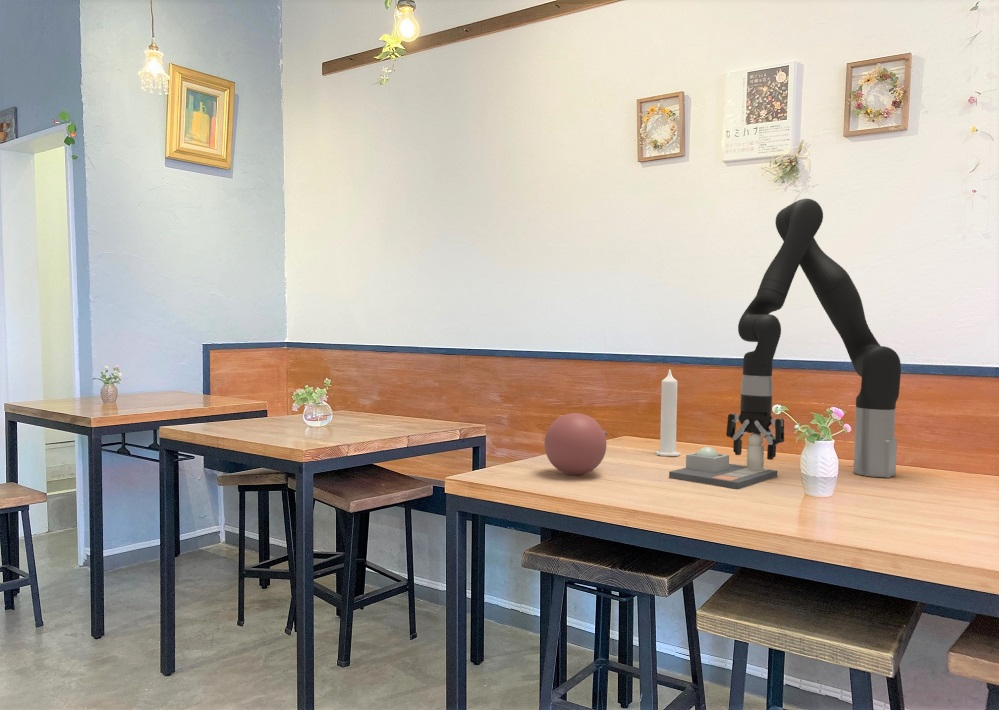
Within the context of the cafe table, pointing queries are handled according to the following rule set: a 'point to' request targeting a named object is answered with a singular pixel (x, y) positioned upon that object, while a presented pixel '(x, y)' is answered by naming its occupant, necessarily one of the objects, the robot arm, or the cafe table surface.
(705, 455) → the dome
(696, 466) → the game board
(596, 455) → the mauve rubber ball
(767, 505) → the cafe table surface
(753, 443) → the pawn
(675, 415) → the candle
